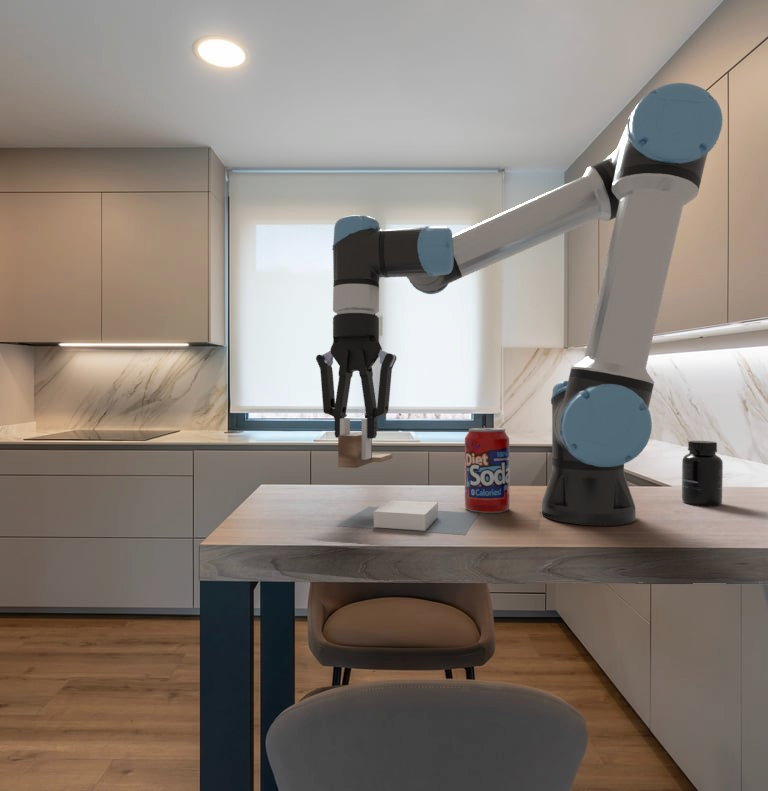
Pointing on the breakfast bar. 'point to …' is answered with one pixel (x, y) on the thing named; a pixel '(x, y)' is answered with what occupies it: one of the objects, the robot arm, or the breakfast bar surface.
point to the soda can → (487, 470)
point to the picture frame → (406, 515)
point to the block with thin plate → (355, 452)
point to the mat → (443, 524)
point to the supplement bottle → (702, 474)
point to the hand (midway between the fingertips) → (355, 458)
